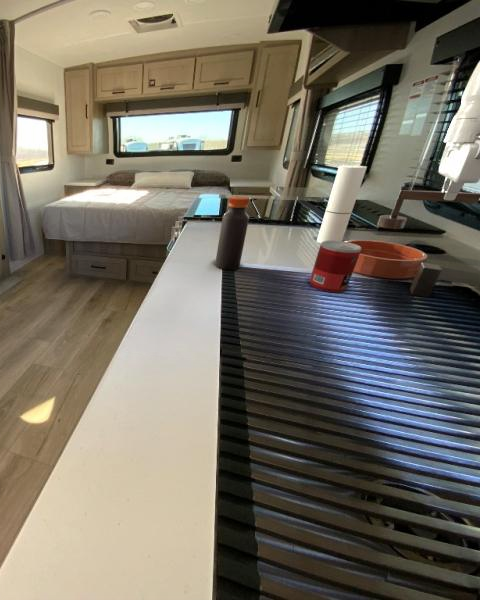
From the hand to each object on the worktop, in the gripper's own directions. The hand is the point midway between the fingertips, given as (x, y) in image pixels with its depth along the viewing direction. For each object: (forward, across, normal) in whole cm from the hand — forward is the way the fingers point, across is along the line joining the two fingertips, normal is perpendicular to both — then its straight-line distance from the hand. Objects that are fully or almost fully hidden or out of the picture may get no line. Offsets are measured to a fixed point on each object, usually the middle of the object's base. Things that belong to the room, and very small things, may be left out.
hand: (446, 198), depth 78 cm
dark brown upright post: (+21, -10, 0) cm, 23 cm away
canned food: (+21, -16, +18) cm, 32 cm away
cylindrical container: (+21, +28, +19) cm, 39 cm away
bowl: (+21, +5, +7) cm, 23 cm away
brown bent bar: (+7, 0, +3) cm, 8 cm away
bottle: (+20, -15, +43) cm, 50 cm away
